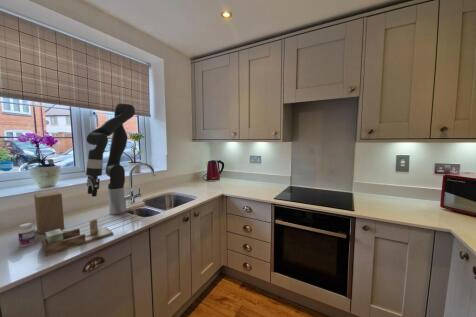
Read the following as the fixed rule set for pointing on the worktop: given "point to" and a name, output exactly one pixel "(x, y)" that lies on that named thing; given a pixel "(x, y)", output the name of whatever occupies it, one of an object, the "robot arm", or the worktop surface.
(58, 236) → the string block
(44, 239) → the lane
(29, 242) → the pill bottle
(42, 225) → the wooden block
